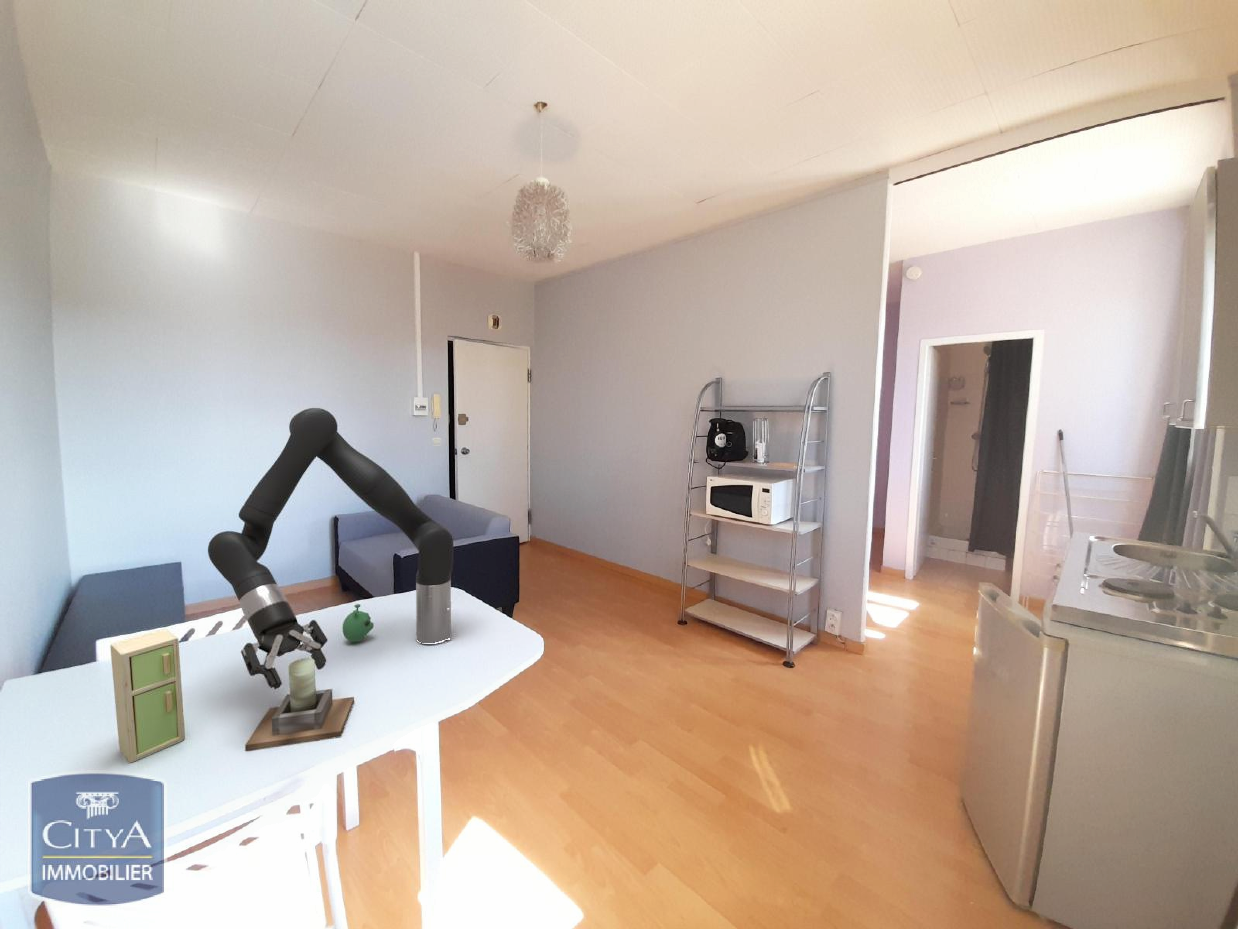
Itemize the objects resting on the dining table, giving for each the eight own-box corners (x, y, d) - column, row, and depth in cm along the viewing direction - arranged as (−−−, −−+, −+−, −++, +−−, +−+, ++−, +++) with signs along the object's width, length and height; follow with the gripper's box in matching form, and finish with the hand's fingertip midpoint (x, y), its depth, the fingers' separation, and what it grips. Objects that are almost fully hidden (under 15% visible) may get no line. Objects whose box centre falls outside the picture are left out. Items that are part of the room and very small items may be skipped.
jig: (354, 701, 107) (353, 682, 106) (340, 736, 95) (340, 714, 95) (269, 713, 102) (269, 692, 101) (245, 751, 90) (244, 727, 90)
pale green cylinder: (319, 710, 101) (317, 657, 100) (312, 723, 97) (310, 667, 96) (295, 713, 100) (293, 659, 99) (287, 727, 96) (285, 670, 94)
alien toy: (372, 644, 133) (372, 610, 132) (341, 648, 130) (340, 613, 129) (374, 633, 139) (374, 600, 138) (344, 637, 136) (344, 603, 135)
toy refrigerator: (129, 766, 86) (121, 655, 83) (117, 750, 89) (109, 643, 87) (187, 741, 92) (181, 638, 90) (173, 727, 96) (167, 627, 94)
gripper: (234, 613, 94) (269, 685, 90) (309, 591, 107) (342, 653, 103) (222, 633, 97) (255, 703, 93) (296, 608, 110) (328, 669, 106)
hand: (301, 676), depth 98 cm, fingers open, 8 cm apart
